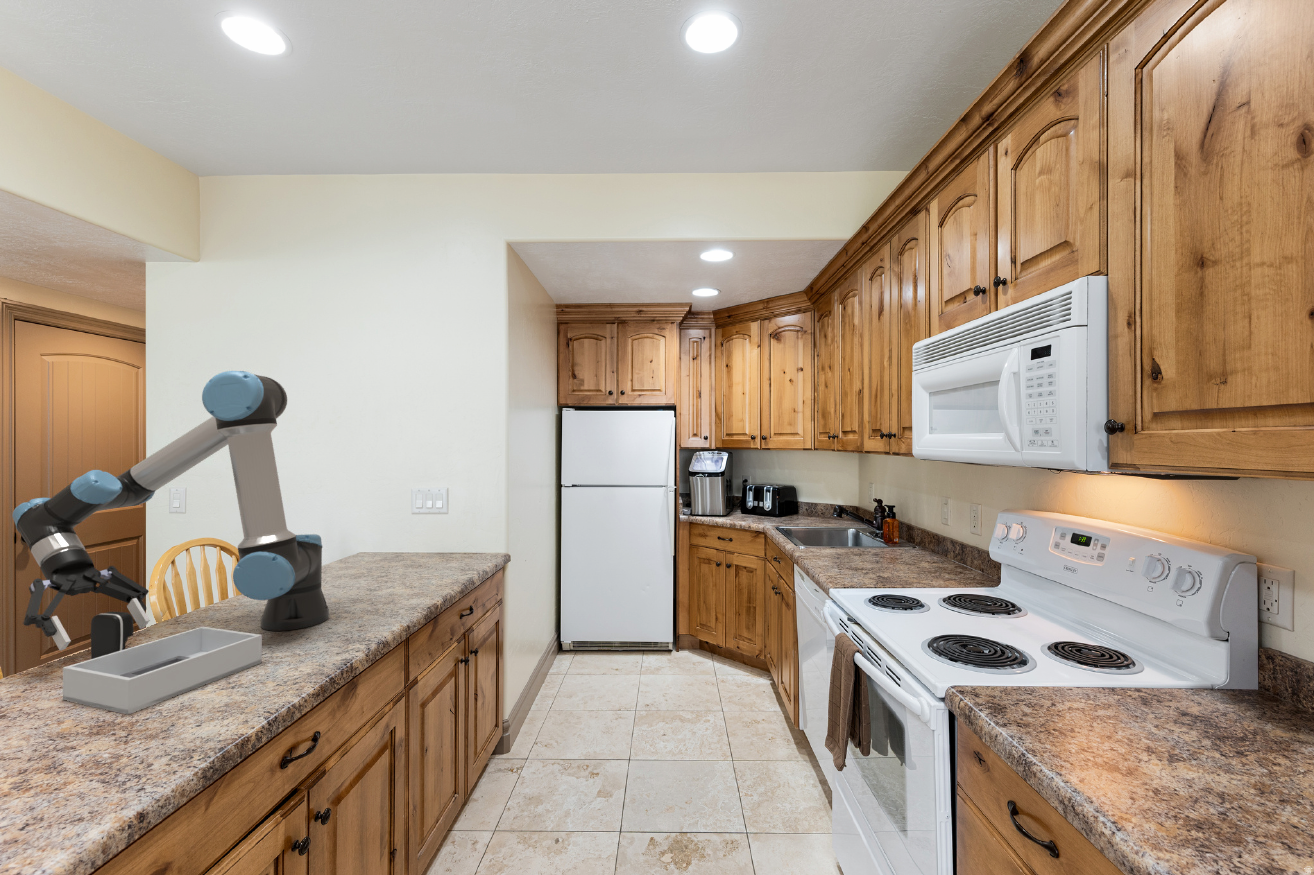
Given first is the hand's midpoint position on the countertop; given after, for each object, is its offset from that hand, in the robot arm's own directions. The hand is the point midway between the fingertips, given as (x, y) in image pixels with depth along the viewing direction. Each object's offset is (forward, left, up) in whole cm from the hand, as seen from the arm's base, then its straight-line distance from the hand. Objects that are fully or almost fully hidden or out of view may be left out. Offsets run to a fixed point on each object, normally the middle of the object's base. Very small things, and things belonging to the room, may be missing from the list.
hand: (107, 634), depth 119 cm
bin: (+1, +20, -7) cm, 21 cm away
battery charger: (0, +1, -7) cm, 7 cm away
